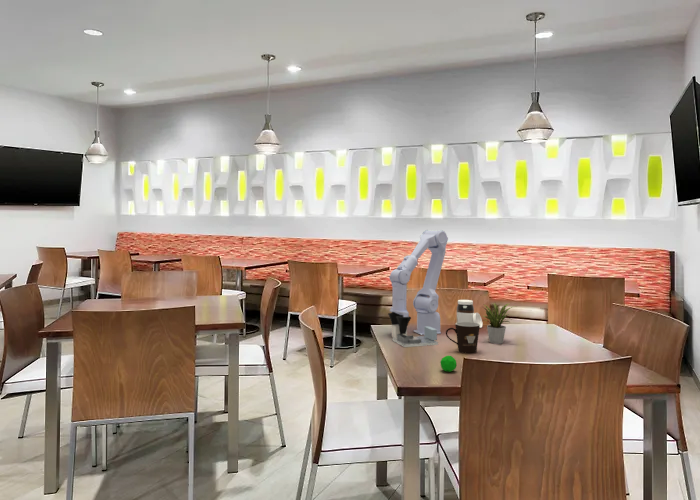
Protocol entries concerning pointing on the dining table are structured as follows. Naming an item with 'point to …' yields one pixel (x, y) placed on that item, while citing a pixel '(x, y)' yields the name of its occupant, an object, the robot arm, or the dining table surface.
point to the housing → (396, 331)
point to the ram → (430, 333)
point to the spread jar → (467, 312)
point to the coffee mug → (466, 336)
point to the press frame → (413, 341)
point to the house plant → (496, 324)
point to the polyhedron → (448, 363)
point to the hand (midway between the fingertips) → (399, 331)
